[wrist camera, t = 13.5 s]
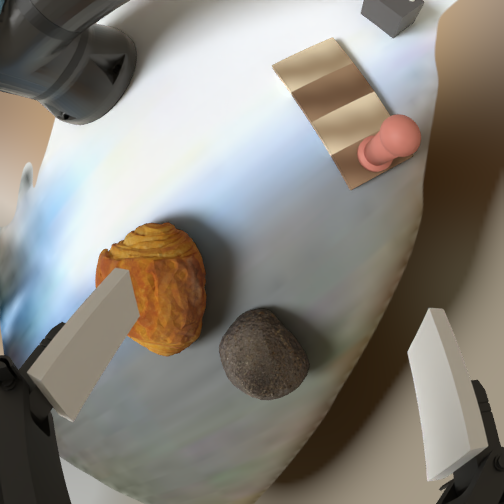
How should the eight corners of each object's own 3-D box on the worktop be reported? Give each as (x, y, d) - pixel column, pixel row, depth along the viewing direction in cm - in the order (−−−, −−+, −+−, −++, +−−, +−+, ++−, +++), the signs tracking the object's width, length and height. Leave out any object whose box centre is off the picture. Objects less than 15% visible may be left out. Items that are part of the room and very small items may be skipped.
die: (360, 14, 26) (365, -10, 21) (383, -2, 25) (389, -24, 20) (392, 38, 26) (402, 17, 21) (413, 22, 25) (424, 1, 20)
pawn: (350, 147, 28) (372, 118, 18) (378, 132, 27) (412, 99, 17) (368, 178, 28) (400, 164, 18) (396, 162, 27) (438, 143, 17)
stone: (226, 327, 39) (218, 402, 33) (220, 298, 32) (210, 392, 26) (301, 331, 38) (300, 406, 33) (314, 303, 31) (315, 397, 26)
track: (272, 68, 29) (271, 65, 28) (332, 41, 27) (332, 37, 26) (350, 190, 30) (351, 189, 29) (410, 157, 28) (413, 156, 27)
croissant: (226, 232, 35) (207, 228, 27) (205, 357, 36) (184, 384, 28) (121, 215, 37) (85, 208, 29) (108, 328, 37) (73, 343, 30)
